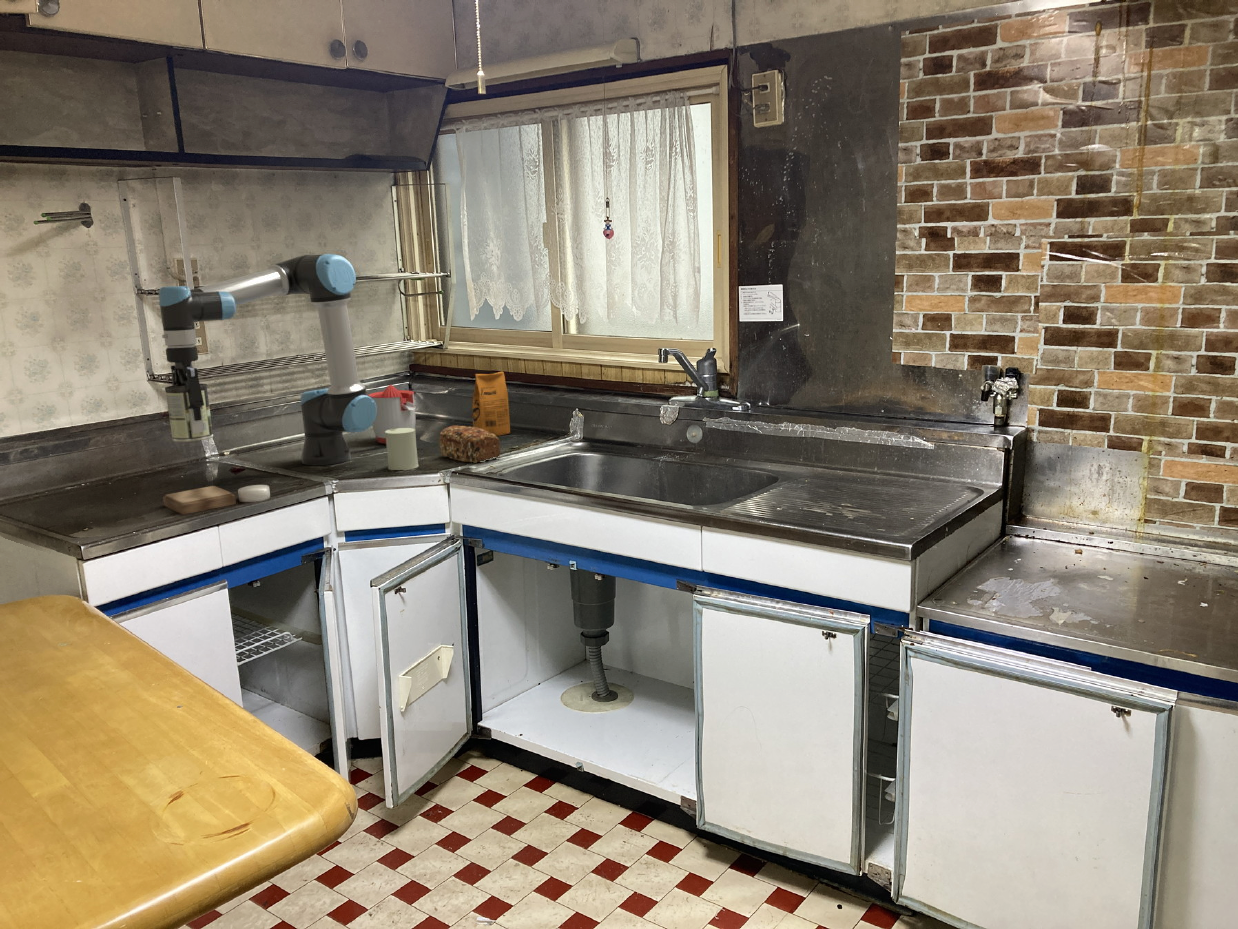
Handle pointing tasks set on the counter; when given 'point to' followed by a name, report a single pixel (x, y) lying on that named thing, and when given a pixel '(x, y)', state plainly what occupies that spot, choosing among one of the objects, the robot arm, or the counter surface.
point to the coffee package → (491, 404)
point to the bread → (468, 444)
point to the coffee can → (187, 414)
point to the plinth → (198, 500)
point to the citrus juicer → (393, 411)
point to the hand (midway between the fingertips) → (191, 430)
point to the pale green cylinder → (401, 449)
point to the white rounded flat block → (254, 493)
